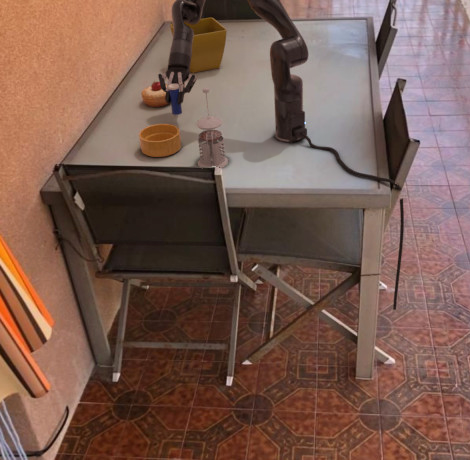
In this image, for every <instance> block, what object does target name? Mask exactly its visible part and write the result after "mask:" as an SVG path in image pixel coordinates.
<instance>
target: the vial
mask: <svg viewBox="0 0 470 460" xmlns="http://www.w3.org/2000/svg"><path fill="white" fill-rule="evenodd" d="M167 85H168V84H167ZM168 89H169V93H170V101H171V102H170V108H171V114H172V115H174V116H179V115H181V114H183V107H182V103H181V104H178V102H177V101H178V94H179V92H180V89H179V84H170V85H168Z"/></svg>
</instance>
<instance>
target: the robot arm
mask: <svg viewBox="0 0 470 460" xmlns="http://www.w3.org/2000/svg"><path fill="white" fill-rule="evenodd" d="M205 3H206V0H190V1H188V0H175V1H174V2H173V3H172V6H171V19H172V20H171V21H172V24H173V29H174V33H173V35H172V40H171V44H170V49H169V55H168V63H167V70H166V71H165V73H158V74H157V77H158V82H160V85H161V89H162V90H163V91H164V92H166V96H165V101H166V102H167V103H168V104H167V105H171V102H170V93H169V89H168V85H170V84H179V94H178V101H177V102H178V104H181V105H182V104H183V103H184V98H185V95H186V94H190V93H191V91H192V90H193V88H194V86H195V84H196V82H197V80H198V78H197V76H196V75H195V74H192V73H191V72H190V71H189V70H190V63H191V57H192V44H193V37H194V31H193V30H192V28H190V27H189V26H187V25H186V24H185V23H188V24H191V25H195V24H197V23H198V22H199V21H200V19H202V15H203V10H204V6H205ZM247 3H248V4H249V6H250V8H251V10H252V11H253V12H254V13H255V14H256V15H257V16H258V17H259V18H260V19H262V20H263V21H265V22H267V24H269V25H270V26H272V27H273V28H274V29H275V30H276V31H277V32H278V34H279V36H280V37H281V38H280V39H277V40H274V41H273V42H272V43H271V44H270V48H269V61H270V72H271V80H272V83H273V96H274V99H273V100H274V123H275V124H274V128H275V139H277V140H278V141H281V142H283V143H284V142H285V143H290V144H292V143H295V142H298V141H300V140H302V139H305V140H306V141H307V143H308V145H309V146H310V147H311V148H313V149H315V150H322V151H323V150H324V151H330V152H332V153H334V155H335V157H336V159H337V161H338V162H339V164H340V165H341V166H342V167H343V168H344V169H345V170H346V171H347V172H349V173H351V174H353V175H354V176H358V177H363V178H368V179H373V180H376V181H379V182H386V183H389V184H392V185H393V186H394V187H396V189H397V190H398V191H402V187H401V186H400V185H399V184H398V183H397V184H398V185H397V184H395V183H394V181H395V180H393V179H391V178H386V177H382V176H381V177H380V176H376V175H373V174H367V173H363V172H359V171H357V170H356V171H355V170H353V169H352V168H350V167H349V166H348V165H347V164H346V163H345V162H344V161H343V160H342V159H341V156H340V154H339V152H338V151H337V149H335V148H333V147H330V146H318V145H315V144H313V143H312V140H311V138H310V137H309V136H308V128H307V127H306V112H305V110H304V87H303V86H304V85H303V84H304V83H303V82H304V81H303V79H302V78H301V76H299V75H296V74H292V73H291V69H292V68H296V67H299V66H301V65H304V64H306V63H307V62H308V60H309V48H308V45H307V43H306V41H305V39H304V37H303V35H302V34H301V33H300V31H299V30H298V28H297V27H296V25H295V23H294V22H293V19H292V18H291V17H290V15H289V13H288V12H287V10H286V8H285V6H284V4H283V3H282V0H247ZM184 22H185V23H184ZM167 79H168V80H167ZM166 80H167V83H166ZM186 81H188V82H187V83H186ZM165 84H167V88H166V85H165ZM404 211H405V210H404V197H401V198H400V199H399V213H400V215H399V217H400V227H399V228H400V229H399V247H398V256H397V265H396V272H395V273H396V275H395V281H394V282H395V283H394V284H395V285H394V293H393V304H392V305H393V306H392V309H393V311H396V310H397V301H398V292H399V291H398V290H399V282H400V273H401V266H402V265H401V264H402V255H403V245H404V234H405V233H404V232H405V229H404V228H405V212H404Z"/></svg>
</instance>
